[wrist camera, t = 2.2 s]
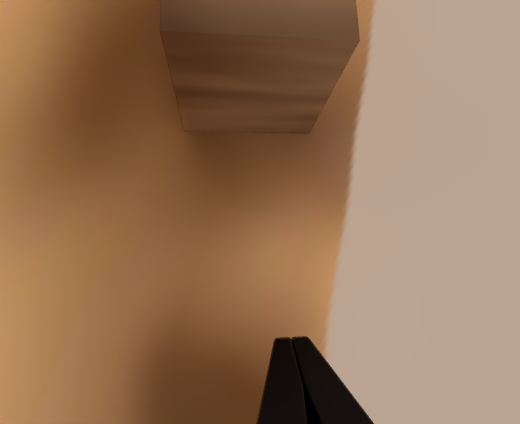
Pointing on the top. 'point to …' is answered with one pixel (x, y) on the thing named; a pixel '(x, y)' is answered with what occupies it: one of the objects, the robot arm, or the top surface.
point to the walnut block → (256, 60)
